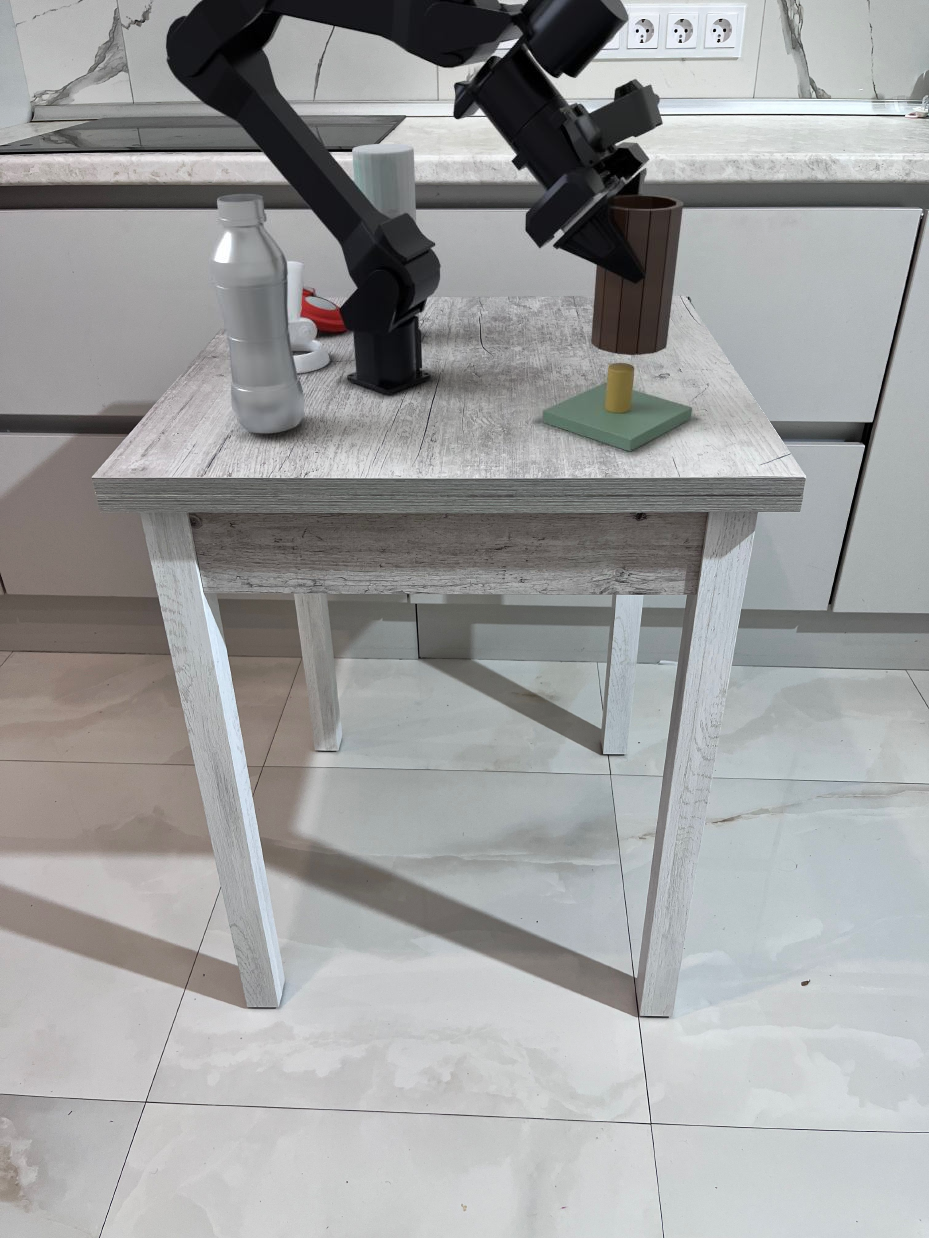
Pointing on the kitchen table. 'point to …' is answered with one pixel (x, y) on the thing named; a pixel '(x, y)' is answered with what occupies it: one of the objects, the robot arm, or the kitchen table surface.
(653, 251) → the sleeve
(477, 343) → the kitchen table surface
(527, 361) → the kitchen table surface
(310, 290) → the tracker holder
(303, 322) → the white upright ring-based piece
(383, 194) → the spray can
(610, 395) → the peg stand
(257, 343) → the plastic bottle
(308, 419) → the kitchen table surface
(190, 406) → the kitchen table surface
